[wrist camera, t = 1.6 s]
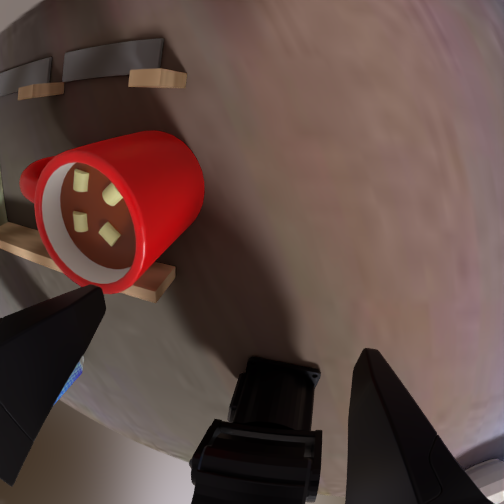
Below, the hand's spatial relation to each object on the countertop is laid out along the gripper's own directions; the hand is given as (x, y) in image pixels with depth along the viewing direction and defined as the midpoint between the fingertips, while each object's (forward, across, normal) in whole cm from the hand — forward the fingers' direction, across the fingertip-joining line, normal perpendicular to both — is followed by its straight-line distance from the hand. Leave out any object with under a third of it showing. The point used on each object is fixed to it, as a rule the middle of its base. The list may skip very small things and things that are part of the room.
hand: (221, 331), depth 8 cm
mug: (+12, +11, 0) cm, 16 cm away
